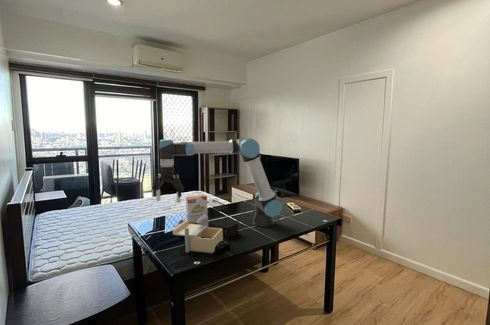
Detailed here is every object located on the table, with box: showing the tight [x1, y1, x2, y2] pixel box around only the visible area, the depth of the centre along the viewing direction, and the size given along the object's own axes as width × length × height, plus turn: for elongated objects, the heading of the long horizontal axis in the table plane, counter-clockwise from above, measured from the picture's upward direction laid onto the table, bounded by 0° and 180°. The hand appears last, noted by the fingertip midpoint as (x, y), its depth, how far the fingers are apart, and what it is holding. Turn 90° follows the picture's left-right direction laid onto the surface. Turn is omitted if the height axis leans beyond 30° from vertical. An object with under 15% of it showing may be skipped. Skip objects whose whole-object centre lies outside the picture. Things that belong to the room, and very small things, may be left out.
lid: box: [172, 219, 207, 237], centre depth 150 cm, size 14×16×3 cm
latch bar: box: [196, 213, 208, 223], centre depth 159 cm, size 2×12×2 cm, turn 165°
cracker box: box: [185, 194, 208, 225], centre depth 183 cm, size 14×6×21 cm, turn 117°
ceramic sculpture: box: [174, 219, 186, 228], centre depth 171 cm, size 11×9×15 cm
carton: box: [184, 215, 224, 254], centre depth 152 cm, size 15×28×14 cm, turn 165°
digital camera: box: [221, 221, 239, 240], centre depth 164 cm, size 10×5×7 cm, turn 142°
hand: (168, 201), depth 151 cm, fingers open, 13 cm apart
